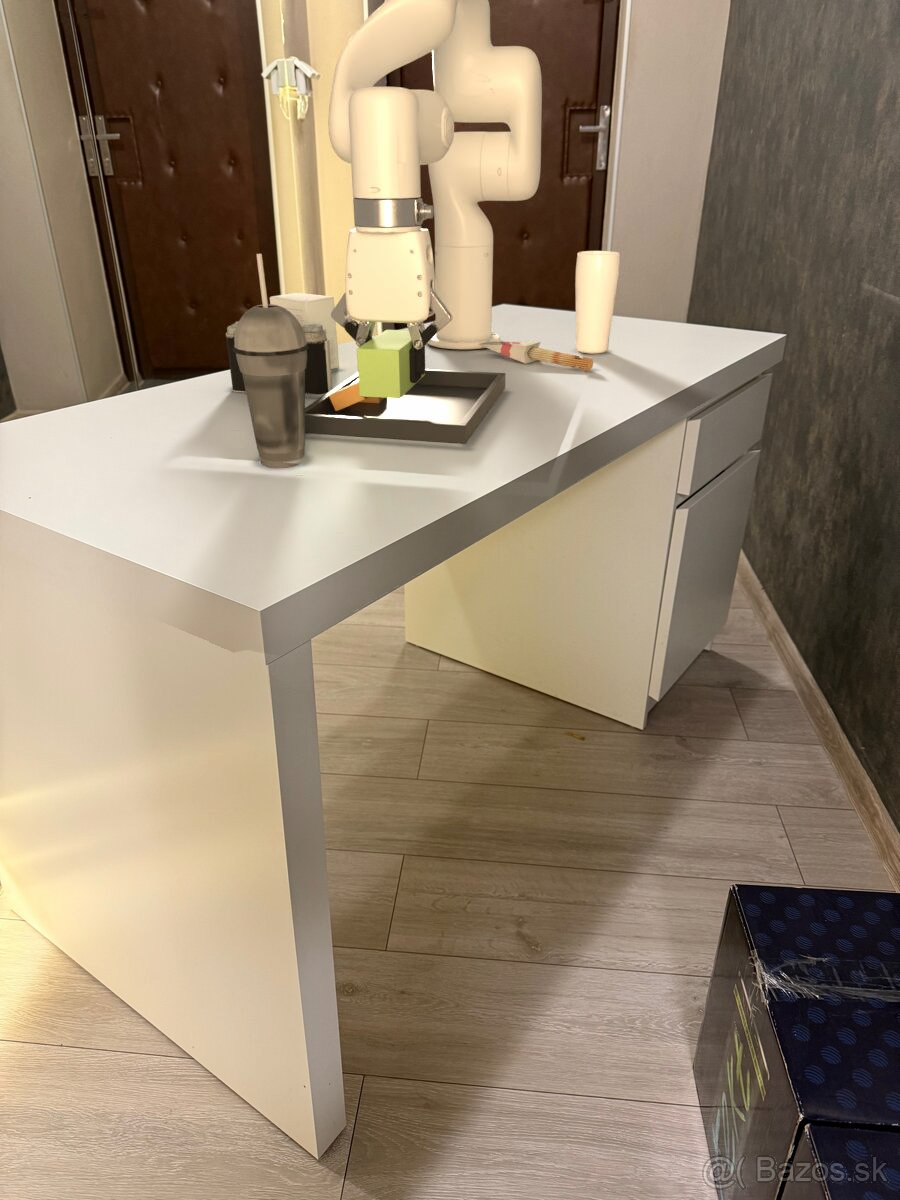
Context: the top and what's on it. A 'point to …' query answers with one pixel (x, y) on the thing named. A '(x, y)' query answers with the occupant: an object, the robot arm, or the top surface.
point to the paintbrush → (537, 354)
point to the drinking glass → (595, 299)
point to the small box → (313, 315)
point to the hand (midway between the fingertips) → (393, 377)
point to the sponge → (385, 365)
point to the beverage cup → (273, 378)
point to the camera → (316, 367)
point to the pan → (414, 409)
